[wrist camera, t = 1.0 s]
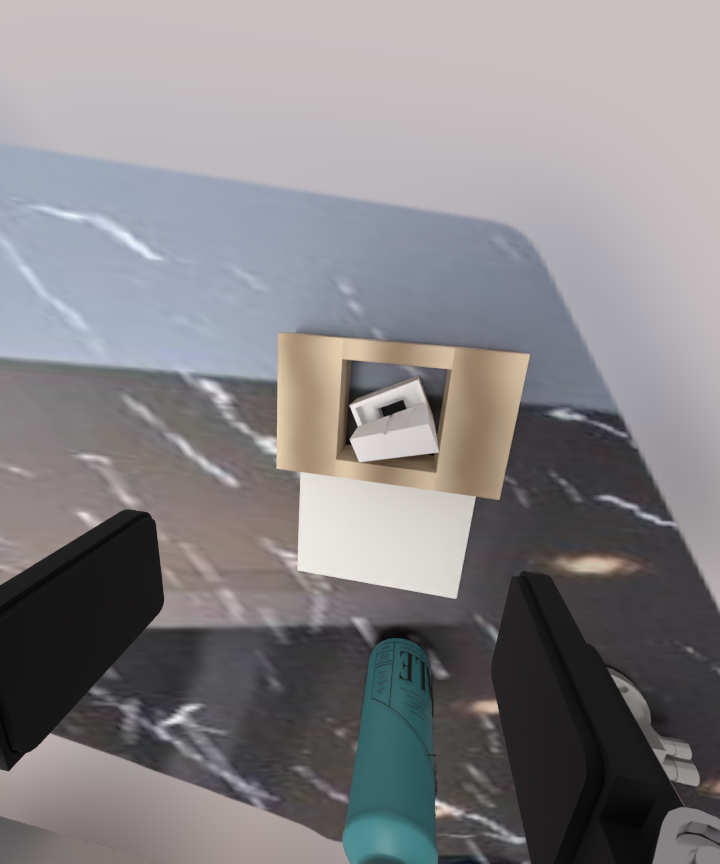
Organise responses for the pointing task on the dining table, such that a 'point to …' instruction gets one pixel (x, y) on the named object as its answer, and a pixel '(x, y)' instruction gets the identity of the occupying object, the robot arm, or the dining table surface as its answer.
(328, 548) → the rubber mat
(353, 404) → the white angled block
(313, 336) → the block
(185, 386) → the dining table surface
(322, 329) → the dining table surface
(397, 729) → the beverage bottle
